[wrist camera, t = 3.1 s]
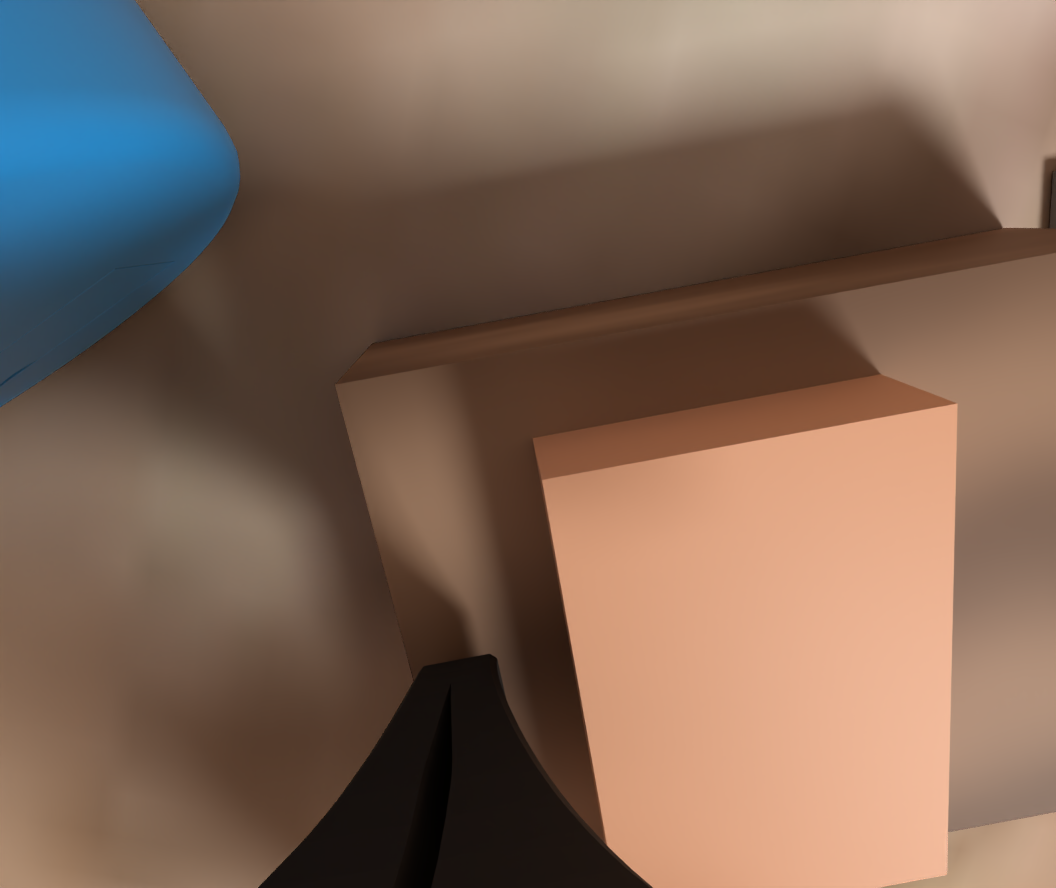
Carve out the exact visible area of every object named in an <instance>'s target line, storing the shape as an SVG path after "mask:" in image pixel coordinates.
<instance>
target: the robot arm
mask: <svg viewBox="0 0 1056 888" xmlns="http://www.w3.org/2000/svg"><path fill="white" fill-rule="evenodd" d="M258 888H653V887H652V886H651V885H649V884H648V883H647V882H646V881H645V880H644V879H643V878H641V877H640V876H639V875H638V874H637V873H636V872H634V871H633V870H632V869H631V868H630V867H629V866H628V865H627V864H626V863H625V862H624V861H623V860H622V859H620V858H619V857H618V856H617V855H616V854H615V853H614V852H613V851H612V850H611V849H610V848H609V847H608V846H607V845H606V844H605V843H604V842H603V841H602V839H601V838H600V837H599V836H598V835H597V834H596V833H595V832H594V831H593V830H592V829H591V828H590V826H589V825H588V824H587V823H586V822H585V821H584V820H583V819H582V818H581V817H580V816H579V814H578V813H577V812H576V811H575V810H574V808H573V807H572V806H571V805H570V803H569V802H568V801H567V800H566V798H565V797H564V796H563V795H562V793H561V792H560V791H559V789H558V788H557V787H556V785H555V784H554V782H553V781H552V780H551V778H550V777H549V776H548V774H547V773H546V771H545V770H544V768H543V767H542V765H541V764H540V762H539V760H538V759H537V757H536V756H535V754H534V752H533V751H532V749H531V747H530V746H529V744H528V742H527V741H526V739H525V737H524V735H523V733H522V731H521V730H520V728H519V726H518V723H517V721H516V719H515V717H514V715H513V713H512V711H511V709H510V707H509V705H508V702H507V700H506V695H505V691H504V686H503V682H502V677H501V673H500V668H499V664H498V659H497V658H496V657H495V656H493V655H491V654H485V655H480V656H474V657H469V658H464V659H458V660H453V661H448V662H443V663H437V664H432V665H427V666H423V667H422V669H421V670H420V671H419V673H418V675H417V676H416V678H415V680H414V682H413V683H412V685H411V687H410V689H409V691H408V692H407V694H406V696H405V698H404V700H403V701H402V703H401V705H400V706H399V708H398V710H397V712H396V713H395V715H394V717H393V718H392V720H391V722H390V723H389V725H388V726H387V728H386V730H385V731H384V733H383V734H382V736H381V738H380V739H379V741H378V742H377V744H376V746H375V747H374V749H373V750H372V752H371V753H370V755H369V756H368V758H367V759H366V761H365V762H364V764H363V765H362V766H361V768H360V769H359V771H358V772H357V773H356V775H355V776H354V778H353V779H352V781H351V782H350V783H349V785H348V786H347V788H346V789H345V790H344V792H343V793H342V795H341V796H340V797H339V798H338V800H337V801H336V802H335V804H334V805H333V806H332V808H331V809H330V810H329V811H328V813H327V814H326V815H325V816H324V817H323V819H322V820H321V821H320V822H319V823H318V824H317V826H316V827H315V828H314V829H313V830H312V832H311V833H310V834H309V835H308V836H307V837H306V838H305V839H304V841H303V842H302V843H301V844H300V845H299V846H298V847H297V848H296V849H295V850H294V851H293V852H292V853H291V854H290V855H289V856H288V857H287V858H286V859H285V860H284V861H283V862H282V864H281V865H280V866H279V867H278V868H277V869H276V870H275V871H274V872H273V873H272V874H271V875H270V876H269V877H268V878H267V879H266V880H265V881H264V882H263V883H262V884H261V885H260V886H259V887H258Z"/></svg>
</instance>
